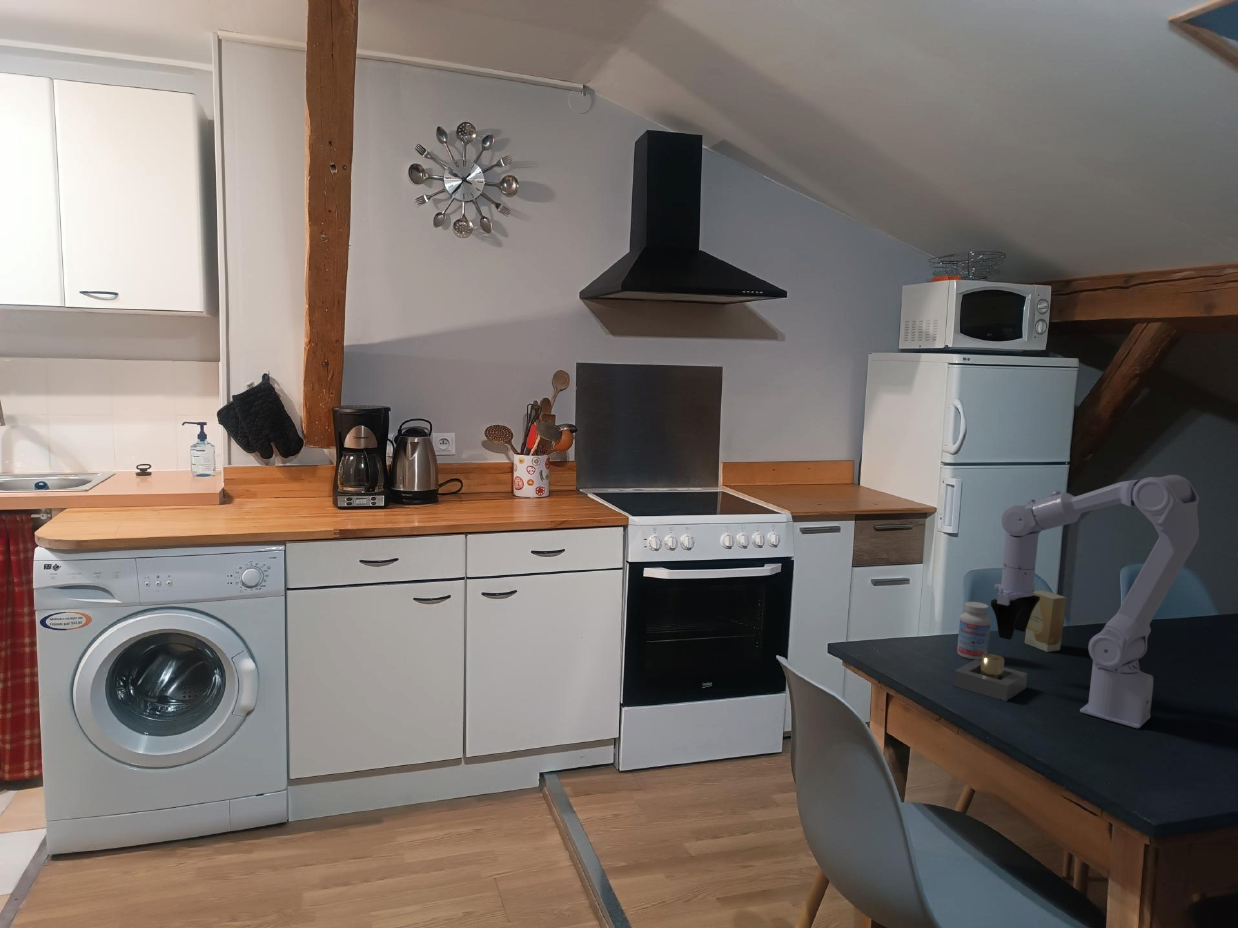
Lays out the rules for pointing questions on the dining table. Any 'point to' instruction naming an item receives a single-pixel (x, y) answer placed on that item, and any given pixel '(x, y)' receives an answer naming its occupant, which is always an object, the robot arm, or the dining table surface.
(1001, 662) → the brass cylinder
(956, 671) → the coupling block
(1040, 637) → the skincare box
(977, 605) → the pill bottle
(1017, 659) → the dining table surface
